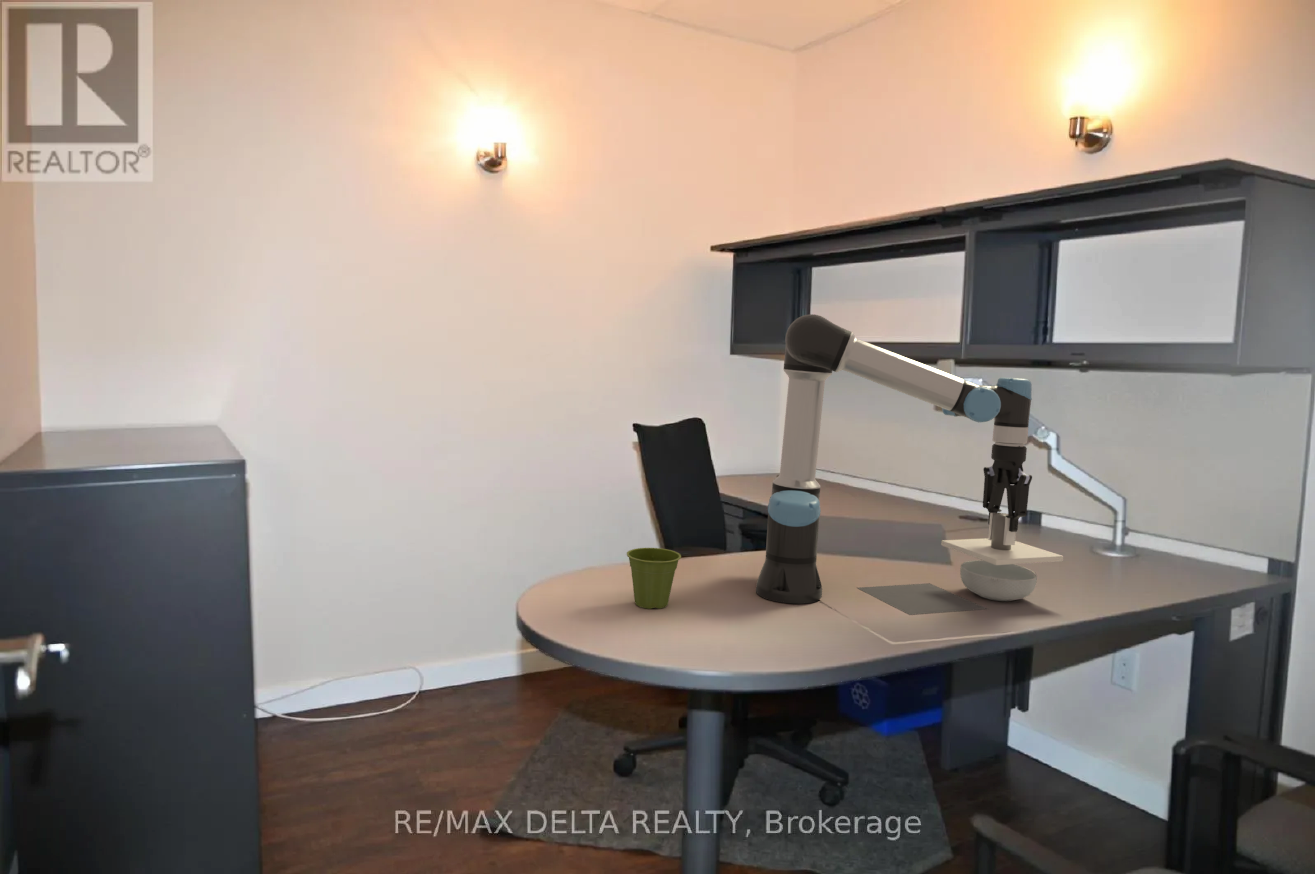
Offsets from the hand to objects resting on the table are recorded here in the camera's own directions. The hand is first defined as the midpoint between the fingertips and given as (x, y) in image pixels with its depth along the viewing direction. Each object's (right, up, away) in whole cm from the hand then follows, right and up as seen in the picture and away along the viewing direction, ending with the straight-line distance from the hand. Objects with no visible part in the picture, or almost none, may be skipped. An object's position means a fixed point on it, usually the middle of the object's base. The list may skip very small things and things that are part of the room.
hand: (1001, 541), depth 203 cm
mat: (-20, -13, -3) cm, 24 cm away
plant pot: (-83, -12, -16) cm, 85 cm away
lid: (0, -3, 0) cm, 3 cm away
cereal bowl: (-1, -14, +2) cm, 14 cm away
